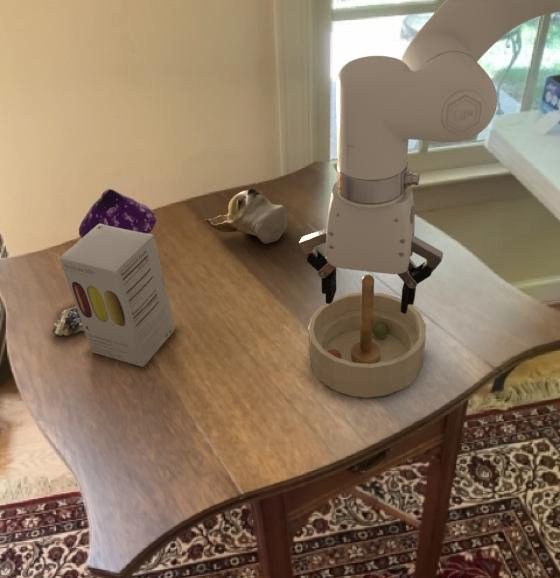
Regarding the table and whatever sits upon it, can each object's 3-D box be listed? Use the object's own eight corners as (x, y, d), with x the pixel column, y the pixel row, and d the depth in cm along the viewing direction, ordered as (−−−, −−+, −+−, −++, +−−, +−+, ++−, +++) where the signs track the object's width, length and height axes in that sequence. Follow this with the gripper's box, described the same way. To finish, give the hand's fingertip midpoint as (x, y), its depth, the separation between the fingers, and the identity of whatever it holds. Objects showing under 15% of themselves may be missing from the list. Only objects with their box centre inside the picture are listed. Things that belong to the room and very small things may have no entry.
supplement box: (90, 353, 97) (55, 257, 85) (124, 315, 103) (96, 221, 91) (144, 368, 93) (116, 271, 82) (177, 329, 99) (155, 232, 88)
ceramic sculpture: (259, 212, 105) (196, 191, 113) (266, 259, 111) (205, 235, 119) (302, 185, 110) (238, 167, 119) (306, 231, 116) (245, 211, 124)
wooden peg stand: (386, 356, 91) (390, 274, 81) (366, 371, 89) (369, 289, 80) (364, 343, 93) (366, 262, 84) (345, 357, 91) (345, 276, 82)
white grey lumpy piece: (55, 344, 99) (51, 334, 97) (48, 313, 104) (44, 304, 103) (99, 331, 100) (96, 321, 99) (90, 302, 106) (87, 292, 104)
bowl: (444, 357, 91) (449, 324, 87) (371, 418, 84) (372, 385, 80) (361, 311, 99) (361, 278, 95) (287, 362, 92) (285, 329, 88)
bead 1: (345, 356, 88) (329, 351, 88) (338, 372, 89) (322, 366, 89) (343, 349, 91) (327, 344, 90) (336, 364, 91) (320, 359, 91)
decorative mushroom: (142, 241, 118) (122, 163, 107) (181, 269, 110) (164, 188, 100) (80, 270, 112) (53, 191, 102) (116, 302, 105) (91, 220, 95)
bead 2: (379, 330, 91) (375, 317, 93) (370, 341, 93) (367, 328, 94) (393, 332, 92) (389, 319, 93) (385, 343, 94) (381, 330, 95)
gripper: (454, 169, 73) (439, 292, 85) (304, 158, 77) (310, 277, 89) (447, 203, 68) (431, 329, 80) (287, 190, 72) (295, 311, 84)
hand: (367, 302), depth 85 cm, fingers open, 9 cm apart
